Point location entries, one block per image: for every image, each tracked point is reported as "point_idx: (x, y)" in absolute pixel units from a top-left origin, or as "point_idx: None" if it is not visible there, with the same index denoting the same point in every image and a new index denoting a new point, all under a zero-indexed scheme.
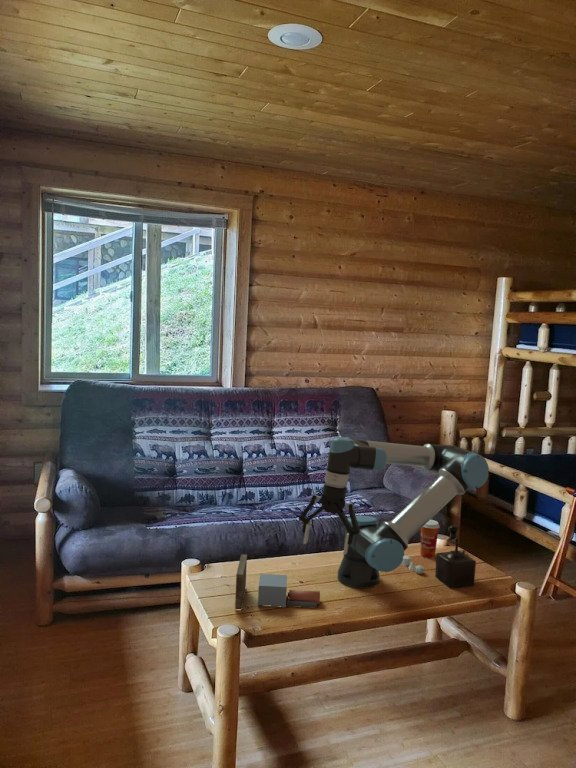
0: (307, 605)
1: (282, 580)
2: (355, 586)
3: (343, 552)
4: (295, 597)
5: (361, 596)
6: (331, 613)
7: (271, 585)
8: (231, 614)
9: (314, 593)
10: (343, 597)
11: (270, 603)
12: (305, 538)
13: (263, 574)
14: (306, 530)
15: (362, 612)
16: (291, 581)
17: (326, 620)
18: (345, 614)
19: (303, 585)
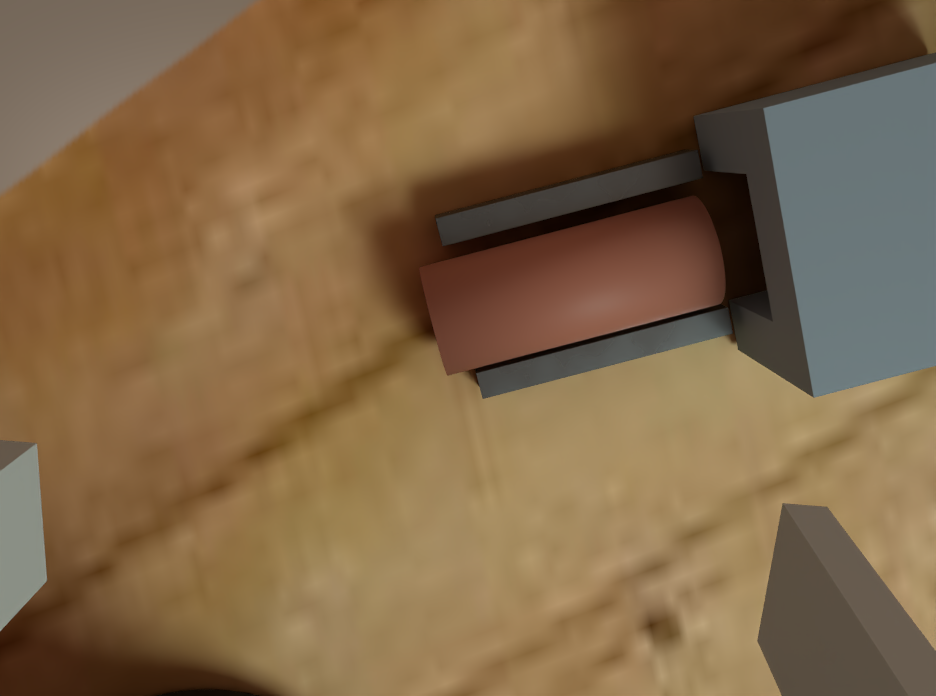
0: (514, 196)
1: (837, 253)
2: (196, 694)
3: (17, 456)
4: (641, 214)
5: (114, 560)
6: (287, 164)
7: (930, 85)
8: None
9: (478, 292)
10: (256, 487)
11: (838, 79)
12: (836, 558)
13: None
14: (921, 672)
15: (35, 280)
16: (742, 604)
17: (299, 20)
18: (167, 190)
19: (630, 572)
